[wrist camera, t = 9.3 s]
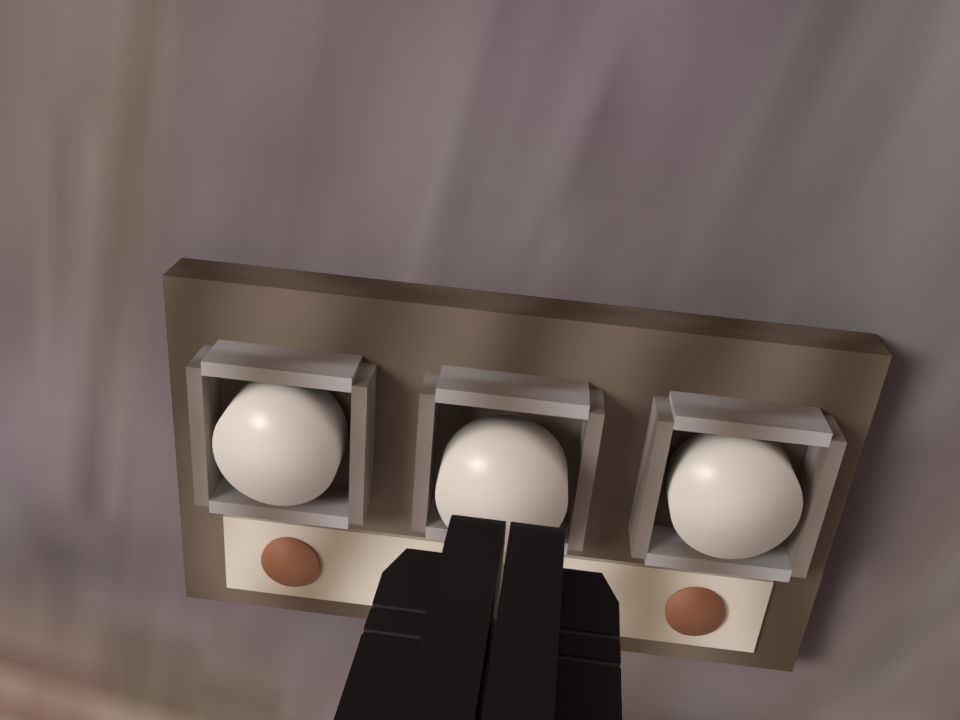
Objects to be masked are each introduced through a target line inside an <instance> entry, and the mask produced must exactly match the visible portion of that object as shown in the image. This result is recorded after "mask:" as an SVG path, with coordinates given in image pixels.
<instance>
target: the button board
mask: <svg viewBox="0 0 960 720" xmlns="http://www.w3.org/2000/svg"><path fill="white" fill-rule="evenodd" d="M163 287H164V301H165V314H166V327H167V341H168V354H169V368H170V381H171V394H172V408H173V421H174V434H175V448H176V461H177V474H178V488H179V501H180V515H181V528H182V541H183V555H184V568H185V581H186V595H187V597H195V598H203V599H211V600H219V601H227V602H235V603H243V604H251V605H259V606H267V607H275V608H283V609H291V610H300V611H308V612H316V613H324V614H332V615H340V616H348V617H356V618H364V619H367V617H368V614H369V611H370V608H371V609H372V602H373V599H374V596H375V593H376V590H377V587H378V584H379V581H380V578H381V575H382V572H383V571H384V570H385V569H386V568H387V567H388V566H389V565H390V564H391V563H392V562H393V561H394V560H395V559H396V558H397V557H398V556H399V555H400V554H401V553H402V552H403V551H404V550H405V549H407V548H410V549H417V550H425V551H433V552H441V553H442V550H443V546H444V542H445V538H446V534H447V530H448V527H447V526H446V524H445V523H444V521H443V520H442V518H441V516H440V514H439V512H438V509H437V506H436V500H435V489H436V483H437V479H438V474H439V470H440V465H441V461H442V457H443V453H444V450H445V448H446V446H447V444H448V442H449V440H450V439H451V438H452V436H453V435H454V434H455V433H456V432H457V431H458V430H459V429H460V428H462V427H463V426H464V425H466V424H468V423H469V422H471V421H474V420H476V419H479V418H482V417H485V416H491V415H513V416H519V417H523V418H526V419H529V420H531V421H533V422H536V423H537V424H539V425H541V426H542V427H544V428H545V429H546V430H548V431H549V432H550V433H551V434H552V435H553V436H554V437H555V438H556V439H557V441H558V442H559V443H560V445H561V447H562V449H563V451H564V453H565V456H566V460H567V465H568V507H567V511H566V515H565V517H564V520H563V521H562V523H561V525H560V527H559V528H565V546H564V563H563V568H568V569H576V570H583V571H591V572H599V573H603V575H604V577H605V579H606V580H607V582H608V584H609V586H610V587H611V589H612V591H613V593H614V594H615V596H616V598H617V600H618V601H619V613H620V650H622V651H630V652H638V653H646V654H654V655H662V656H670V657H678V658H686V659H694V660H702V661H711V662H719V663H727V664H735V665H743V666H751V667H759V668H767V669H775V670H783V671H791V672H792V671H793V668H794V664H795V661H796V658H797V655H798V652H799V649H800V645H801V642H802V639H803V636H804V633H805V630H806V627H807V623H808V620H809V617H810V614H811V611H812V608H813V604H814V601H815V598H816V595H817V592H818V589H819V585H820V582H821V579H822V576H823V573H824V570H825V567H826V563H827V560H828V557H829V554H830V551H831V548H832V544H833V541H834V538H835V535H836V532H837V529H838V526H839V522H840V519H841V516H842V513H843V510H844V507H845V503H846V500H847V497H848V494H849V491H850V488H851V485H852V481H853V478H854V475H855V472H856V469H857V466H858V462H859V459H860V456H861V453H862V450H863V447H864V444H865V440H866V437H867V434H868V431H869V428H870V425H871V421H872V418H873V415H874V412H875V409H876V406H877V402H878V399H879V396H880V393H881V390H882V387H883V384H884V380H885V377H886V374H887V371H888V368H889V365H890V361H891V358H892V355H891V354H890V352H889V351H888V350H887V348H886V347H885V346H884V344H883V343H882V342H881V340H880V339H879V338H878V336H877V335H876V334H870V333H861V332H851V331H842V330H833V329H824V328H815V327H806V326H797V325H788V324H779V323H770V322H760V321H751V320H742V319H733V318H724V317H715V316H706V315H697V314H688V313H679V312H669V311H660V310H651V309H642V308H633V307H624V306H615V305H606V304H597V303H588V302H578V301H569V300H560V299H551V298H542V297H533V296H524V295H515V294H506V293H497V292H487V291H478V290H469V289H460V288H451V287H442V286H433V285H424V284H415V283H406V282H397V281H387V280H378V279H369V278H360V277H351V276H342V275H333V274H324V273H315V272H306V271H296V270H287V269H278V268H269V267H260V266H251V265H242V264H233V263H224V262H215V261H205V260H196V259H187V258H181V259H180V260H179V261H178V262H177V263H176V264H175V265H174V266H172V267H171V268H170V269H169V270H168V271H167V272H166V273H165V274H163ZM250 381H254V382H262V383H271V384H280V385H289V386H297V387H306V388H315V389H323V390H327V391H328V392H329V393H330V394H331V395H332V396H333V397H334V398H335V399H336V400H337V402H338V403H339V404H340V406H341V408H342V410H343V411H344V413H345V416H346V419H347V423H348V429H349V437H348V443H347V447H346V450H345V452H344V455H343V457H342V460H341V462H340V465H339V467H338V469H337V472H336V474H335V477H334V479H333V481H332V482H331V484H330V486H329V487H328V488H327V489H326V490H325V491H324V492H323V493H322V494H321V495H319V496H318V497H316V498H315V499H313V500H311V501H308V502H306V503H303V504H299V505H293V506H276V505H270V504H266V503H262V502H259V501H257V500H254V499H252V498H250V497H248V496H246V495H244V494H243V493H241V492H240V491H238V490H237V489H236V488H235V487H234V486H232V485H231V484H230V483H229V481H228V480H227V479H226V478H225V477H224V475H223V474H222V473H221V471H220V469H219V467H218V465H217V463H216V461H215V458H214V454H213V447H212V438H213V433H214V430H215V427H216V424H217V423H218V421H219V419H220V418H221V416H222V415H223V413H224V412H225V410H226V409H227V407H228V406H229V404H230V403H231V401H232V400H233V399H234V397H235V396H236V394H237V393H238V392H239V390H240V389H241V388H242V387H243V386H244V385H246V384H247V383H248V382H250ZM696 433H707V434H716V435H724V436H733V437H742V438H750V439H759V440H768V441H777V442H778V443H779V444H780V445H781V446H782V447H783V449H784V450H785V452H786V454H787V456H788V458H789V460H790V463H791V465H792V468H793V470H794V473H795V475H796V477H797V480H798V482H799V485H800V487H801V491H802V496H803V508H802V513H801V516H800V519H799V522H798V523H797V525H796V527H795V529H794V530H793V531H792V533H791V534H790V535H789V536H788V537H787V538H786V539H785V540H784V541H783V542H781V543H780V544H779V545H777V546H776V547H774V548H773V549H771V550H769V551H767V552H765V553H762V554H759V555H757V556H753V557H749V558H742V559H722V558H716V557H712V556H709V555H706V554H703V553H701V552H699V551H697V550H695V549H694V548H692V547H691V546H689V545H688V544H687V543H686V542H685V541H684V540H683V539H682V538H681V537H680V536H679V534H678V533H677V532H676V530H675V528H674V526H673V523H672V520H671V515H670V510H669V504H668V499H667V493H666V487H665V472H666V468H667V465H668V462H669V460H670V458H671V456H672V455H673V453H674V452H675V450H676V449H677V448H678V447H679V446H680V445H681V444H682V443H683V442H684V441H685V440H687V439H688V438H689V437H691V436H692V435H694V434H696ZM505 557H506V552H505V553H504V555H503V565H502V576H501V584H502V577H503V570H504V563H505ZM500 590H501V586H500Z"/></svg>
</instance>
